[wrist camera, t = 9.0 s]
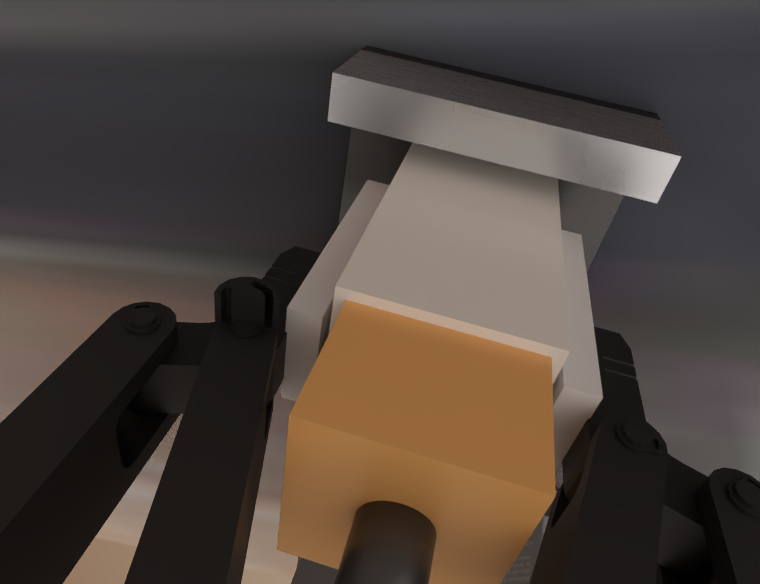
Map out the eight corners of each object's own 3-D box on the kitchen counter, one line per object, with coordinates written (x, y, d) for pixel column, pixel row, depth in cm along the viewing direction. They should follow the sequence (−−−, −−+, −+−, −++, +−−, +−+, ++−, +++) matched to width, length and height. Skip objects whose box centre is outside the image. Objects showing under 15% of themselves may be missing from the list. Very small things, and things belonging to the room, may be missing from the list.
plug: (418, 131, 17) (223, 493, 7) (556, 165, 17) (587, 611, 6) (393, 247, 20) (227, 639, 9) (512, 279, 20) (481, 727, 9)
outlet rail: (317, 404, 27) (292, 461, 24) (366, 45, 17) (332, 72, 14) (493, 457, 26) (488, 522, 24) (656, 113, 16) (681, 156, 13)
